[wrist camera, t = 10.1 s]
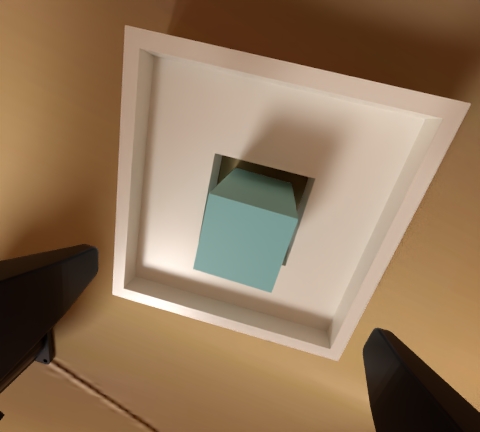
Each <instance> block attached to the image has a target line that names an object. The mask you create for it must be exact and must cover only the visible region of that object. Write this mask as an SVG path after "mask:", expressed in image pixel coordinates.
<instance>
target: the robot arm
mask: <svg viewBox="0 0 480 432" xmlns="http://www.w3.org/2000/svg"><path fill="white" fill-rule="evenodd" d="M98 254H99V252H98V249H97V248H96V247H94V246H91V245H87V244H82V245H77V246H72V247H67V248H62V249H57V250H52V251H47V252H43V253H38V254H33V255H28V256H23V257H18V258H13V259H8V260H3V261H0V393H1V392H3V391H4V390H5V389H6V388H7V387H8V386H9V385H10V384H11V383H12V382H13V381H14V380H15V379H16V378H17V377H18V376H19V375H20V374H21V373H22V372H23V371H24V370H25V369H26V368H27V367H28V366H30V365H31V364H32V363H33V362H34V361H37V362H41V363H44V364H49V363H50V362H51V361H52V360H53V355H52V341H51V328H52V327H53V326H54V325H55V324H56V323H57V322H58V321H59V320H60V318H61V317H62V316H63V315H64V314H65V313H66V312H67V311H68V309H69V308H70V307H71V306H72V304H73V303H74V302H75V301H76V299H77V298H78V297H79V296H80V294H81V293H82V292H83V291H84V289H85V288H86V287H87V286H88V284H89V283H90V282H91V281H92V279H93V278H94V277H95V276H96V274H97V271H98ZM363 359H364V366H365V373H366V380H367V388H368V395H369V401H370V407H371V412H372V417H373V421H374V425H375V429H376V432H480V412H478V411H477V410H476V409H475V408H474V407H473V406H472V405H471V404H470V403H469V402H467V401H466V400H465V399H464V398H463V397H462V396H461V395H460V394H459V393H458V392H456V391H455V390H454V389H453V388H452V387H451V386H450V385H449V384H448V383H447V382H446V381H444V380H443V379H442V378H441V377H440V376H439V375H438V374H437V373H436V372H435V371H433V370H432V369H431V368H430V367H429V366H428V365H427V364H426V363H425V362H424V361H422V360H421V359H420V358H419V357H418V356H417V355H416V354H415V353H414V352H413V351H412V350H410V349H409V348H408V347H407V346H406V345H405V344H404V343H403V342H402V341H401V340H399V339H398V338H397V337H396V336H395V335H394V334H393V333H392V332H390V331H388V330H384V329H381V328H375V329H374V330H373V331H372V333H371V334H370V336H369V338H368V340H367V342H366V343H365V345H364V348H363ZM3 416H4V414H3V413H2V412H1V411H0V420H1V419H2V418H3Z"/></svg>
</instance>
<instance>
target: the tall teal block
mask: <svg viewBox="0 0 480 432" xmlns="http://www.w3.org/2000/svg"><path fill="white" fill-rule="evenodd" d="M297 222H298V214H297V209H296V204H295V198H294V193H293V188H292V183H289V182H285V181H282V180H278V179H275V178H271V177H268V176H264V175H261V174H257V173H254V172H250V171H246V170H243V169H239V168H235V169H234V170H232V171H231V172H230V173H229V174H228V175H227V176H226V177H225V178H224V179H223V180H222V181H221V182H220V183H219V184H218V185H217V186H216V187H215V188H214V189H213V190H212V191H211V192H210V193H209V196H208V201H207V206H206V210H205V215H204V220H203V224H202V229H201V234H200V238H199V243H198V248H197V253H196V257H195V262H194V267H193V269H195V270H198V271H201V272H204V273H208V274H211V275H214V276H217V277H221V278H224V279H227V280H231V281H234V282H237V283H240V284H244V285H247V286H250V287H253V288H257V289H260V290H263V291H266V292H270V293H272V290H273V287H274V285H275V282H276V279H277V276H278V274H279V271H280V268H281V265H282V263H283V260H284V257H285V255H286V252H287V249H288V246H289V244H290V241H291V238H292V235H293V233H294V230H295V227H296V224H297Z"/></svg>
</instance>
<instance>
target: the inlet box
mask: <svg viewBox="0 0 480 432" xmlns="http://www.w3.org/2000/svg"><path fill="white" fill-rule="evenodd" d="M470 105H471V103H466V102H462V101H457V100H453V99H449V98H444V97H440V96H435V95H431V94H427V93H422V92H418V91H413V90H409V89H405V88H400V87H396V86H391V85H387V84H383V83H378V82H374V81H369V80H365V79H361V78H356V77H352V76H347V75H343V74H339V73H334V72H330V71H325V70H321V69H317V68H312V67H308V66H304V65H299V64H295V63H290V62H286V61H282V60H277V59H273V58H268V57H264V56H260V55H255V54H251V53H246V52H242V51H238V50H233V49H229V48H224V47H220V46H216V45H211V44H207V43H202V42H198V41H194V40H189V39H185V38H180V37H176V36H172V35H167V34H163V33H158V32H154V31H150V30H145V29H141V28H136V27H132V26H128V25H125V32H124V54H123V75H122V97H121V118H120V140H119V161H118V183H117V205H116V226H115V248H114V269H113V291H112V295H116V296H119V297H122V298H126V299H129V300H133V301H136V302H139V303H143V304H146V305H150V306H153V307H156V308H160V309H163V310H166V311H170V312H173V313H177V314H180V315H183V316H187V317H190V318H193V319H197V320H200V321H204V322H207V323H210V324H214V325H217V326H221V327H224V328H227V329H231V330H234V331H237V332H241V333H244V334H248V335H251V336H254V337H258V338H261V339H265V340H268V341H271V342H275V343H278V344H281V345H285V346H288V347H292V348H295V349H298V350H302V351H305V352H309V353H312V354H315V355H319V356H322V357H325V358H329V359H332V360H336V361H338V360H339V358H340V357H341V355H342V353H343V351H344V349H345V347H346V345H347V343H348V341H349V339H350V337H351V335H352V333H353V331H354V329H355V327H356V326H357V324H358V322H359V320H360V318H361V316H362V314H363V312H364V310H365V308H366V306H367V304H368V302H369V300H370V298H371V297H372V295H373V293H374V291H375V289H376V287H377V285H378V283H379V281H380V279H381V277H382V275H383V273H384V271H385V269H386V268H387V266H388V264H389V262H390V260H391V258H392V256H393V254H394V252H395V250H396V248H397V246H398V244H399V242H400V240H401V239H402V237H403V235H404V233H405V231H406V229H407V227H408V225H409V223H410V221H411V219H412V217H413V215H414V213H415V211H416V209H417V208H418V206H419V204H420V202H421V200H422V198H423V196H424V194H425V192H426V190H427V188H428V186H429V184H430V182H431V180H432V179H433V177H434V175H435V173H436V171H437V169H438V167H439V165H440V163H441V161H442V159H443V157H444V155H445V153H446V151H447V150H448V148H449V146H450V144H451V142H452V140H453V138H454V136H455V134H456V132H457V130H458V128H459V126H460V124H461V122H462V121H463V119H464V117H465V115H466V113H467V111H468V109H469V107H470ZM222 155H224V156H228V157H232V158H236V159H240V160H244V161H248V162H252V163H256V164H260V165H264V166H268V167H272V168H275V169H279V170H283V171H287V172H291V173H295V174H299V175H303V176H307V177H308V180H307V183H306V186H305V189H304V193H303V196H302V199H301V202H300V205H299V208H298V211H297V214H298V222H297V224H296V227H295V230H294V233H293V235H292V238H291V241H290V244H289V246H288V249H287V252H286V255H285V257H284V260H283V263H282V265H281V268H280V271H279V274H278V276H277V279H276V282H275V285H274V287H273V290H272V293H270V292H266V291H263V290H260V289H257V288H253V287H250V286H247V285H244V284H240V283H237V282H234V281H231V280H227V279H224V278H221V277H217V276H214V275H211V274H208V273H204V272H201V271H198V270H195V269H193V267H194V262H195V257H196V253H197V248H198V243H199V238H200V234H201V229H202V224H203V220H204V215H205V210H206V206H207V201H208V196H209V193H210V192H211V191H212V190H213V189H214V188H215V187H216V186H217V181H218V176H219V170H220V165H221V160H222Z"/></svg>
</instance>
